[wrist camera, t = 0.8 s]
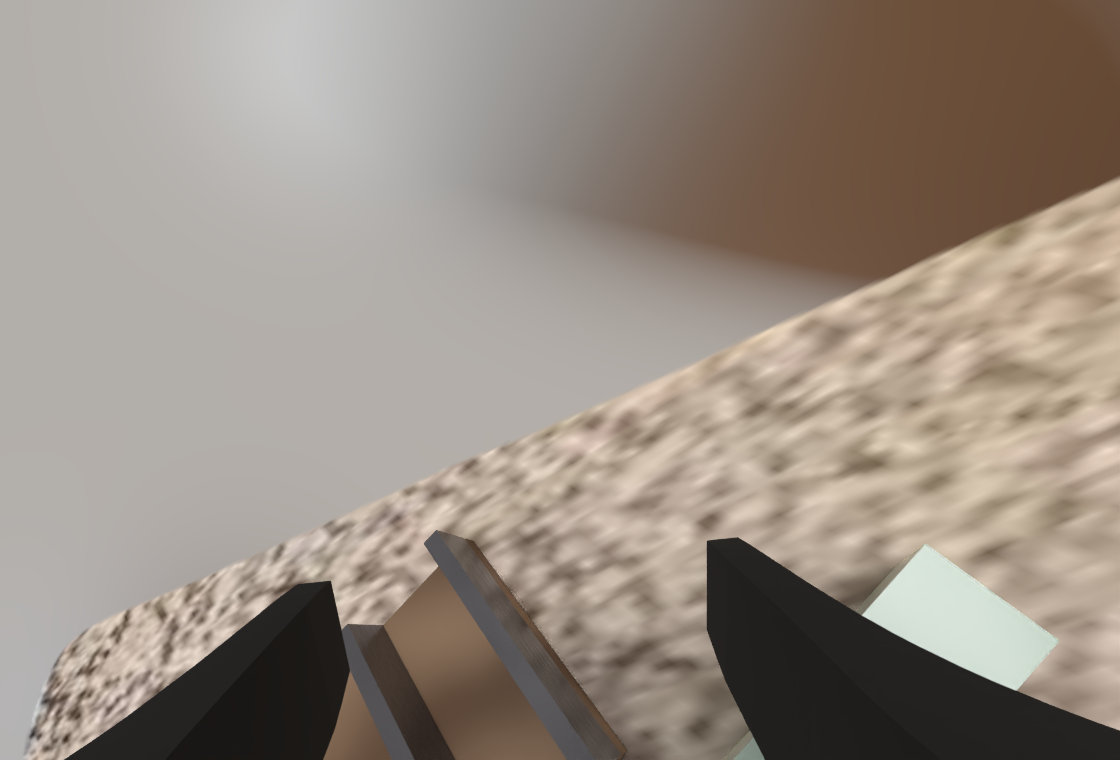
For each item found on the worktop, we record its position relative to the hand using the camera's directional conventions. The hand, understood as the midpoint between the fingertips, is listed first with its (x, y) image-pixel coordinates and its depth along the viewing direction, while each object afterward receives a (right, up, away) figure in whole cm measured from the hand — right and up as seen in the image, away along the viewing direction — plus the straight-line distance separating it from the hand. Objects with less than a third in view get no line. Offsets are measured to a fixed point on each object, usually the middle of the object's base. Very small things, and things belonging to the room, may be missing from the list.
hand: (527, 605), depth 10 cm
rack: (-4, -11, +13) cm, 17 cm away
